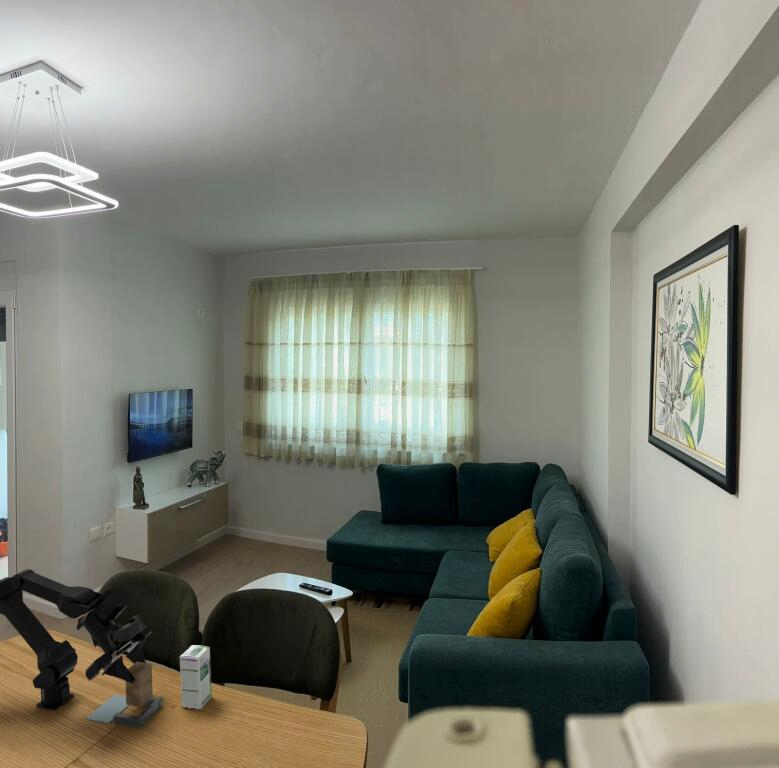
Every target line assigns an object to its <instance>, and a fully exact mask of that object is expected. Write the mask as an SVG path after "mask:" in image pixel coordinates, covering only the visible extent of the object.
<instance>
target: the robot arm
mask: <svg viewBox="0 0 779 768" xmlns="http://www.w3.org/2000/svg"><path fill="white" fill-rule="evenodd" d="M24 592H25V593H28V594H31V595H33V596H35V597H37V598H40V599H42V600H44V601H47V602H49V603H52V604H54V605H55V606H57V609H58V611H59V612H60V613H62V614H63V615H64V616H66V617H68V618H70V619H73V620H75V619H77V625H76V630H77V631H79V630H81V629H83V628H84V629H85V630H86V632H87V633H88V634H89V635H90V636H91V638H92V639H93V640H94V641H95V642H94V643H93V644H92V645H93V646H94V648H96V647H98V646H99V647H100V649H101V650H102V652H103V654H102V655H100V656H99V657H97V658H96V659H95V660H94V661H93V662H92V663H91V664H90V665H89V666H88V667H87V668H86V669H85V677H86V678H87V679H88V681H89V682H91V681H92V680H93V679H95V678H96V677H98V676H99V675H100V672H101V671H102V670H103V672H102V673H101V676H105V675H107V676H110V677H113V678H116V679H119V680H123V681H124V682H126V681H127V682H130V683H133V682H134V681H135V679H134V677H133V676H132V674H131V673H130V672H129V670H128V669H129V668H128V667H127V666H126V664H125V663H124V658H123V655H122V654H123V653H125V652H127V654H126V655H125V658H126V659H128V660H129V661H130V662H131V663H132V664H133V665H134V664H135V663H136V662H143V663H147V662H146V658H145V656H144V655H145V654H144V649H143V646H144V643H145V642H146V638H148V636H149V635H150V634H151V633H152V632H153V630H152V629H151V628H150V626H149V625H144V621H143V620H142V618H141V617H140V616H139V615H138V614H136V615H134V616H133V617H131V618H129V619H128V622H127V624H125V625H122V623H120V622H117V623H116V622H114V620H116V619H117V617H119V615H120V614H122V613H123V611H124V610H125V609H126V608H127V607H128V606H129V605H130V604H131V603H130V602H131V597H130V595H129V594H128V592H127V591H125V590H123V589H119V588H115V587H114V586H110V587H109V588H107V589H106V590H105V591H104V593H103V592H98V591H95V590H94V589H92V588H89V587H85V586H79V585H78V586H69V585H66V584H63V583H60V582H58V581H56V580H53V579H51V578H48V577H47V576H43V575H41V574H39V573H36V572H35V571H34V570H33V569H31V568H30V569H24V570H21V571H20V572H18V573H15V574H14V575H12V576H6V577H4V578H1V579H0V615H3V616H4V617H5V618H6V619H7V621H8V622H10V624H11V625H12V626H13V628H14V629H15V630H16V632H17V633H18V634H19V635H20V636H21V637H22V639H23V640H24V641H25V643H26V644H28V646H29V647H30V648H31V650H32V651H33V652H34V653H35V655H36V660H37V661H36V662H37V663H36V664H37V665H36V666H37V669H38V671H39V673H38V674H37V675H36V676H35V677H34V678H33V679H32V680H31V681H32V684H33V687H34V689H38V690H39V689H40V700H41V701H39V702H38V703H36V704H35V707H36V708H41V709H46V710H52V711H56V710H58V709H59V708H61V706H63V705H64V704H66V703H67V702H68V701H70V700H71V699H72V698H73V697H74V696H75V694H74V693H71V691H70V688H71V687H70V681H69V677H68V676H69V675H70V674H71V673H73V672H74V669H75V668H76V666H77V664H78V658H79V656H78V654H77V652H76V651H77V649H75V648H74V647H73V646H72V645H71V643H70V641H69V640H67V639H65V640H64V641H62V642H60V641H57V640H55V639H54V637H52V635H51V633H50V632H49V631H48V630H47V629H46V627H44V625H43V623H41V621H40V620H39V619H38V618H37V616H36V615H35V614H34V613H33V611H31V609H30V608H29V607H28V606H27V604H26V603H25V602H24V594H23V593H24ZM120 655H121V656H120Z"/></svg>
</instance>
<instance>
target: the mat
mask: <svg viewBox="0 0 779 768" xmlns="http://www.w3.org/2000/svg"><path fill="white" fill-rule="evenodd" d="M129 706H130V705H126V695H125V696H123V695H119V694H118V695H117V694H114V695H112V696H111V697H110V698H109V699H107V700H106V701H105V702H103V704H102V705H100V706H99V707H98V708H97V709H95V711H93V712H92V713H91V714H90V715H88V716H87V717H86V718H85V719H86V720H88V721H91V722H97V723H103V724H108V725H109V724H110V723H112V721H113V715H114V714H116V713H123V712H124V711H125V710H126V709H127V708H128V707H129Z"/></svg>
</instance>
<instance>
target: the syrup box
mask: <svg viewBox="0 0 779 768" xmlns="http://www.w3.org/2000/svg"><path fill="white" fill-rule="evenodd" d="M210 648H211V647H209V646H206V645H200V644H199V645H196V644H195V645H194V644H192V645H190V646H189V647H188V649H186V650H185V651H184V652H183V653H182V654H181V655H180V656H179V667H180V668H179V670H180V687H181V689H180V691H181V693H180V694H181V707H182V708H185V707H188V708H187V709H191V708H195V709H194V710H199V709H201V710H202V709H203V707H204V706H205V705H206V704H207V703H208V702H209V700H210V699H211V698H212V696H213V693H212V690H213V689H212V672H211V670H212V669H211V651H210V650H211V649H210Z"/></svg>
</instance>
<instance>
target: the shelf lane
mask: <svg viewBox="0 0 779 768" xmlns="http://www.w3.org/2000/svg"><path fill="white" fill-rule="evenodd" d="M142 707H146V709H145V710H143V712H141V713H140V714H139V716H137V715H132V714H127V713H123V712H121V713H116V714H114V715H113V720H112V721H113V724H116V725H122V726H127V727H131V728H137V729H138V728H139V729H141V728H142V727H143V726H144V725H145V724H146V723H147V721H149V720H150V719H151V718H152V717H153V716H154V715H155V714H156V713H157V712H158V711H160V709H161V708H162V707H164V698H163V696H158V697H156V696H155V697H154V696H153V697H152V698H151V699H150V700H149V701H147V702H146V703H145V704H144V705H143V706H142Z"/></svg>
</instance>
